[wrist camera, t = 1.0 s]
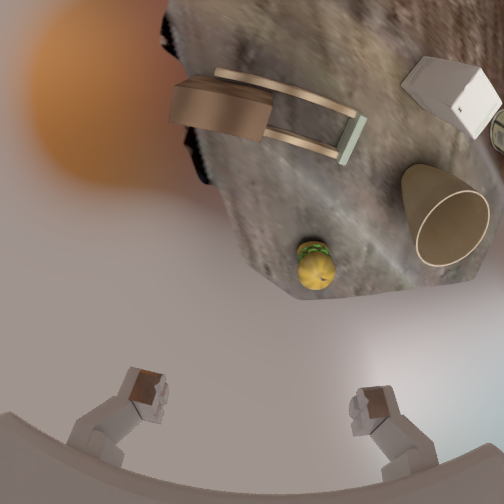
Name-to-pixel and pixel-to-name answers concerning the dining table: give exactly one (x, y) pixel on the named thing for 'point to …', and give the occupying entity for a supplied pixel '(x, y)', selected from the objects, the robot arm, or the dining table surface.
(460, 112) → the skincare box
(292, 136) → the chute
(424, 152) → the dining table surface
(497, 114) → the coffee can
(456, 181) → the plant pot
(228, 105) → the block
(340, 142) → the end stop
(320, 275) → the hamburger
